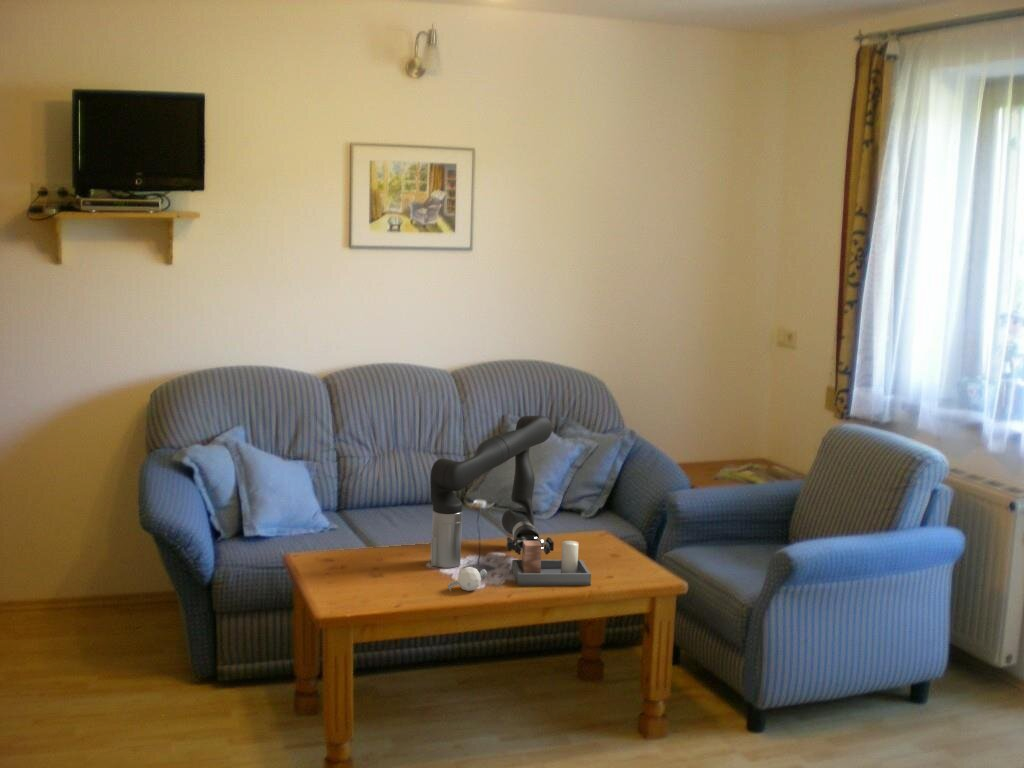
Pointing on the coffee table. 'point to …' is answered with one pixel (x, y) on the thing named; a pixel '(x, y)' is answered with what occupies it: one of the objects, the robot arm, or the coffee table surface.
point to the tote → (551, 574)
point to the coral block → (531, 557)
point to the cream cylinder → (569, 557)
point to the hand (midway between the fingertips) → (533, 551)
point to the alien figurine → (469, 579)
